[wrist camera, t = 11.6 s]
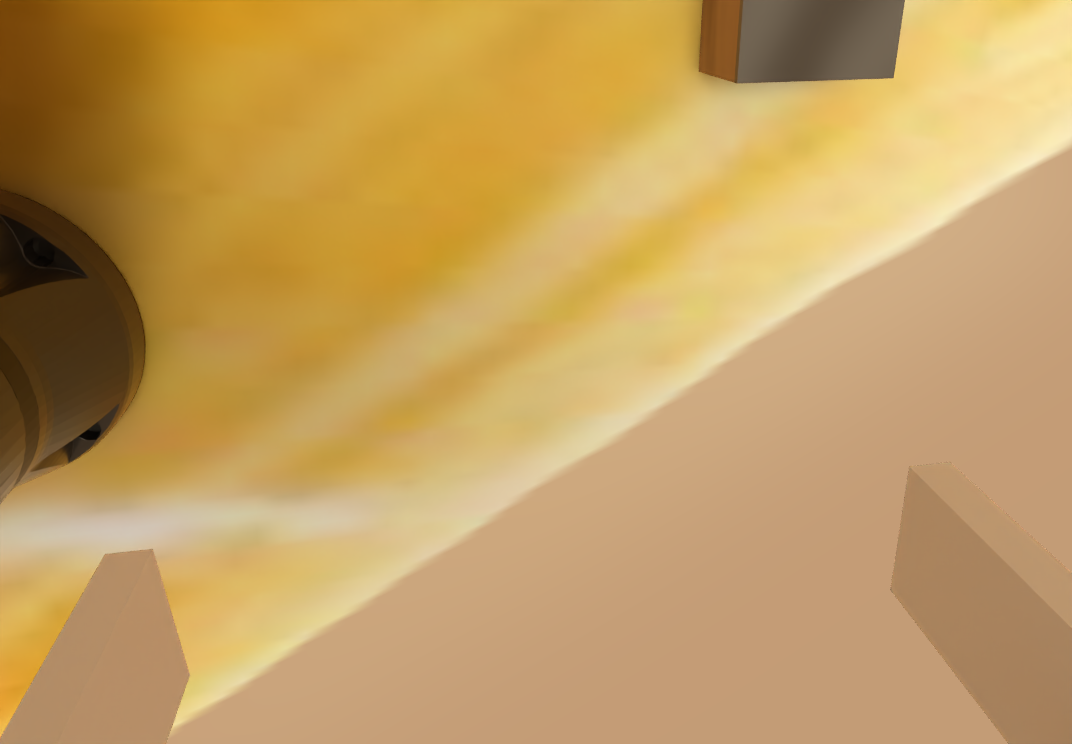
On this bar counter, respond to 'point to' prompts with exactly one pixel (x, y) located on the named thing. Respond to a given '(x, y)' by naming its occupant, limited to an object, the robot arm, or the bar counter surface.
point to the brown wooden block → (799, 39)
